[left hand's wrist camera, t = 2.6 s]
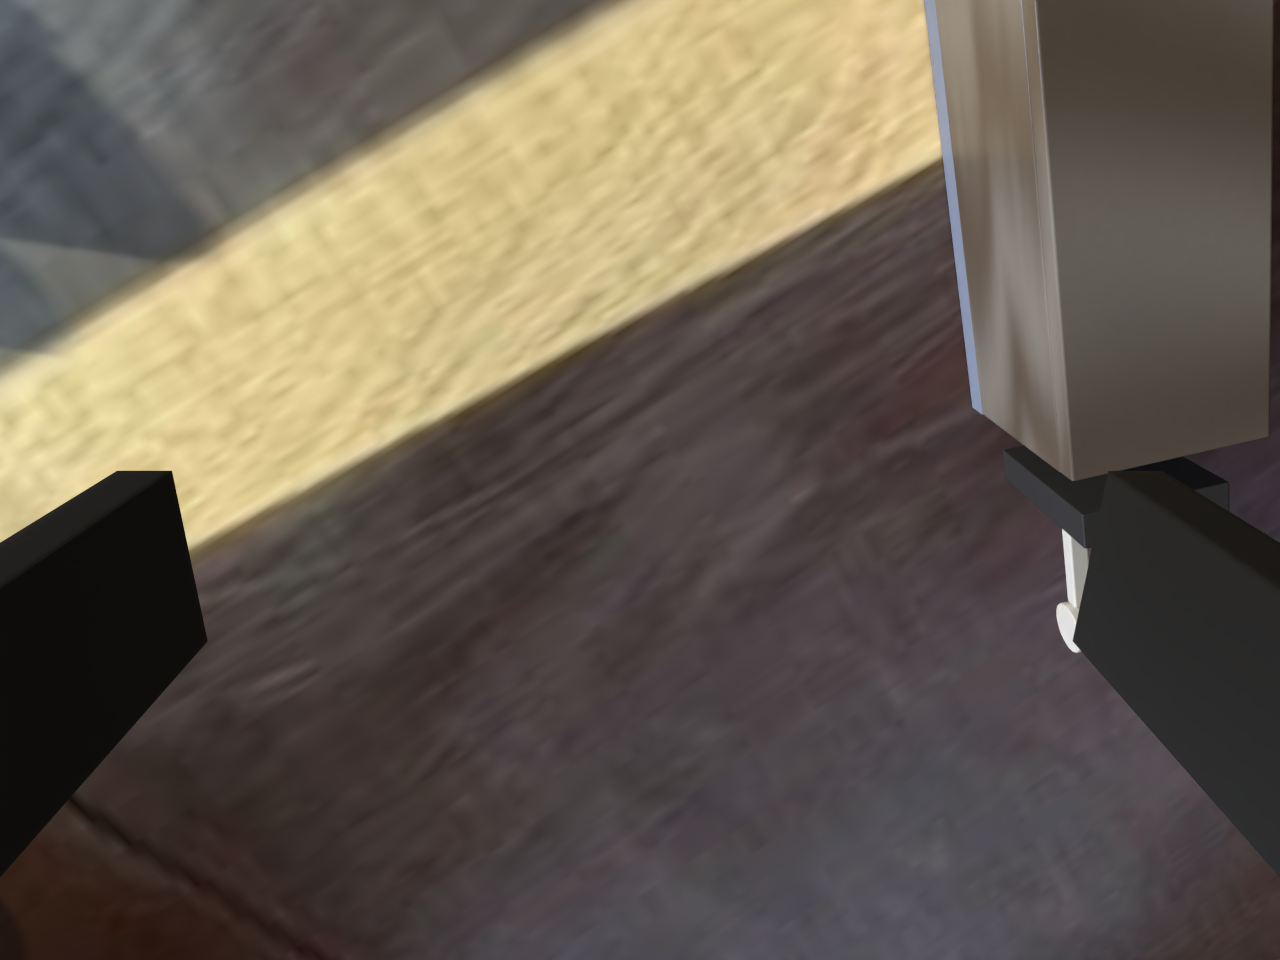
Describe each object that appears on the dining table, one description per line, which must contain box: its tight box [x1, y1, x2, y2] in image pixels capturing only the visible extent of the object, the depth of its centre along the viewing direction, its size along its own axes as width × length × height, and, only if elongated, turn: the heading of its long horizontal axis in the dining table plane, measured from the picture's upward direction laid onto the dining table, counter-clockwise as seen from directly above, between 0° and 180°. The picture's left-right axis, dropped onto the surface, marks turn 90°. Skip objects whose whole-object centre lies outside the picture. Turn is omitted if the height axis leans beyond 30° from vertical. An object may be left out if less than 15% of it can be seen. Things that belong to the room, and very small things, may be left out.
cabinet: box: [924, 0, 1274, 481], centre depth 25 cm, size 20×6×8 cm, turn 14°
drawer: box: [1003, 446, 1229, 653], centre depth 27 cm, size 24×4×6 cm, turn 14°
